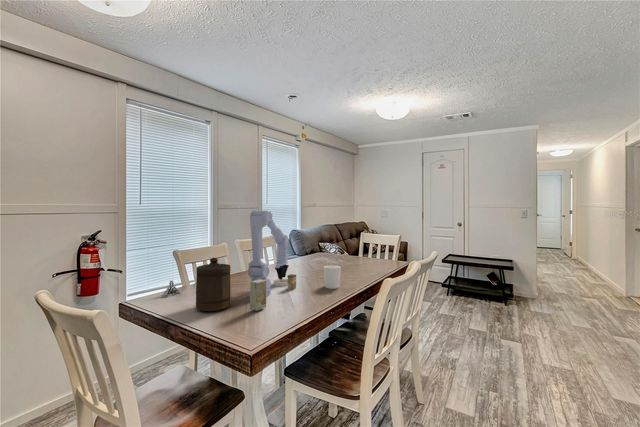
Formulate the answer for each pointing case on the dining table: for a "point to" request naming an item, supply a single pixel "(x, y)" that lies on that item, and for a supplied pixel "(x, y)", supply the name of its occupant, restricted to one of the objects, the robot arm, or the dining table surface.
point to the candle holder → (332, 276)
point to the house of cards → (171, 290)
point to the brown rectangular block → (291, 281)
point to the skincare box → (257, 294)
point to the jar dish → (280, 282)
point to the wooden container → (213, 286)
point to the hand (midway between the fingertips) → (281, 278)
